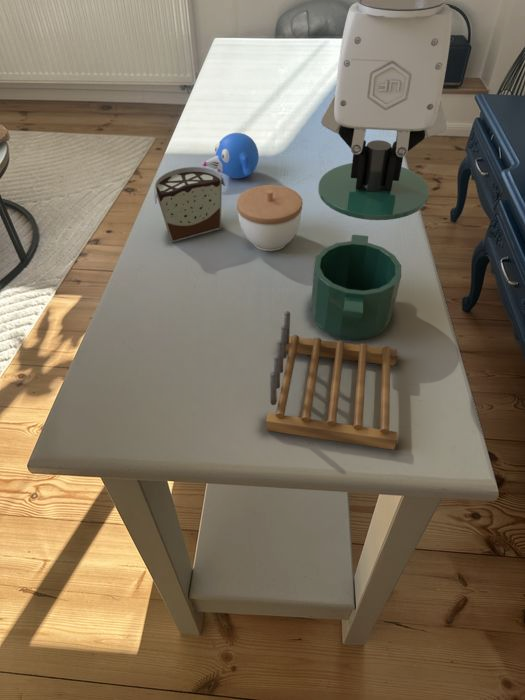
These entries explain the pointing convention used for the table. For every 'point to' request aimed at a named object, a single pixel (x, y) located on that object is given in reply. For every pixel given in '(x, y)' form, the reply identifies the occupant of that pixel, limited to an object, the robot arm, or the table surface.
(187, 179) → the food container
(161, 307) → the table surface
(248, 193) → the trinket box
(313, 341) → the dish rack
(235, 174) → the blue mole toy
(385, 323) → the pot
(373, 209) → the lid
